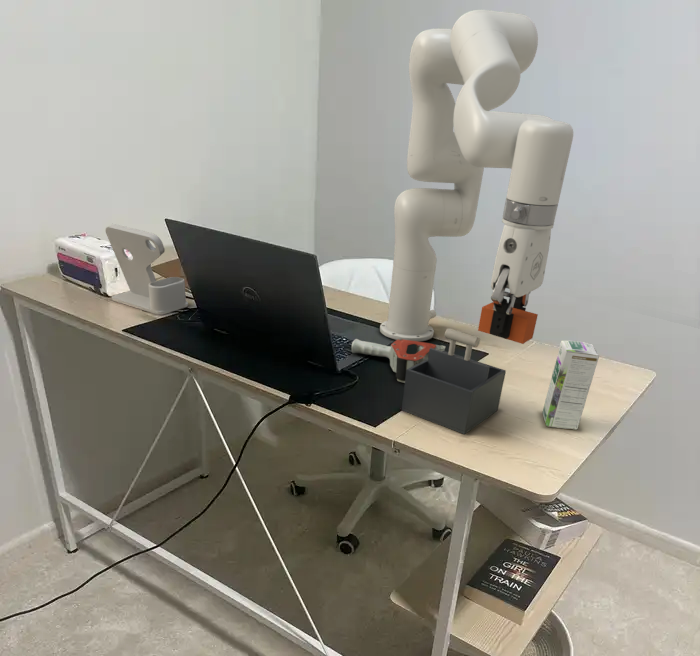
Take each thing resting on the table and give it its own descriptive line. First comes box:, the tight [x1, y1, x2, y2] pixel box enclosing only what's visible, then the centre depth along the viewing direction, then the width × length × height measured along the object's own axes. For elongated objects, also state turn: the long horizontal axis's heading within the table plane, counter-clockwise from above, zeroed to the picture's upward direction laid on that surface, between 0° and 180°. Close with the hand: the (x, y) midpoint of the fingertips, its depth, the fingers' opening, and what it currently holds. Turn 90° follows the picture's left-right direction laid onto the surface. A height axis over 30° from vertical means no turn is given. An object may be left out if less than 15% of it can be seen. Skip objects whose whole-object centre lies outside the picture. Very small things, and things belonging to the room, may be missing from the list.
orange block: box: [477, 301, 539, 345], centre depth 106 cm, size 4×8×4 cm, turn 53°
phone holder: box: [105, 223, 189, 316], centre depth 156 cm, size 17×10×18 cm, turn 59°
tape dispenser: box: [351, 338, 447, 384], centre depth 136 cm, size 18×5×20 cm
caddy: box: [401, 327, 507, 435], centre depth 117 cm, size 13×13×15 cm
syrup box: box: [541, 340, 600, 430], centre depth 117 cm, size 6×6×14 cm
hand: (505, 331), depth 107 cm, fingers closed on orange block, 3 cm apart
